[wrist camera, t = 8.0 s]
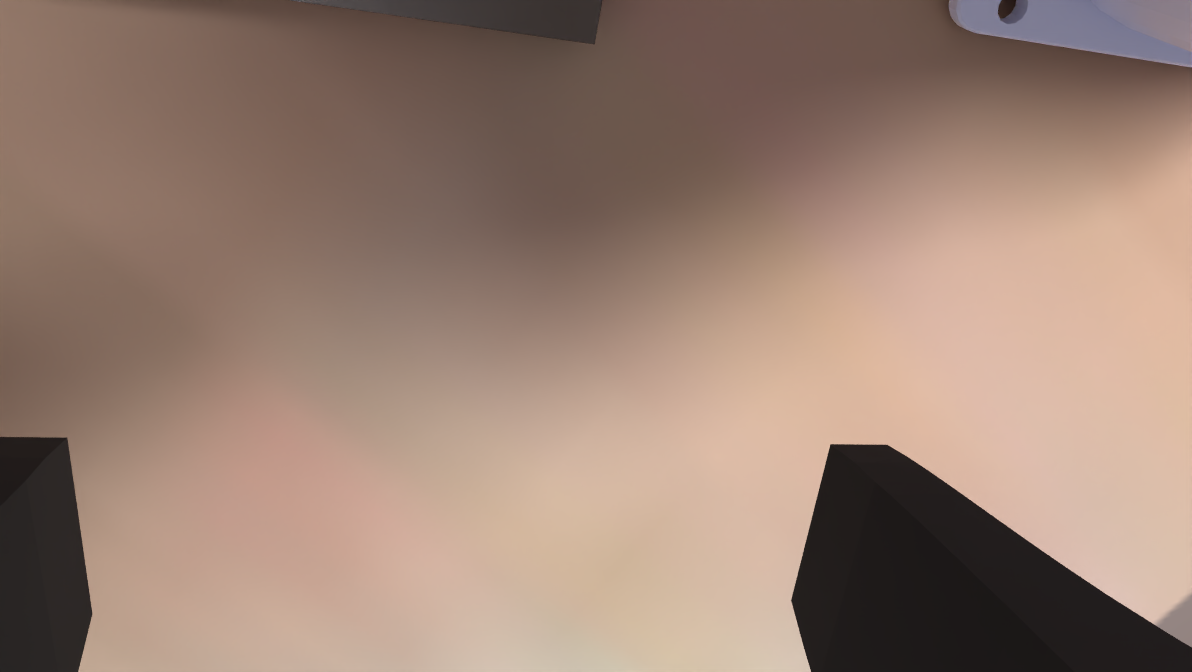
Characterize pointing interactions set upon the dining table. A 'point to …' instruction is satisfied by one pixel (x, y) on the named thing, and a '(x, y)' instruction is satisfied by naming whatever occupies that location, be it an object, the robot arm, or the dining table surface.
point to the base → (494, 14)
